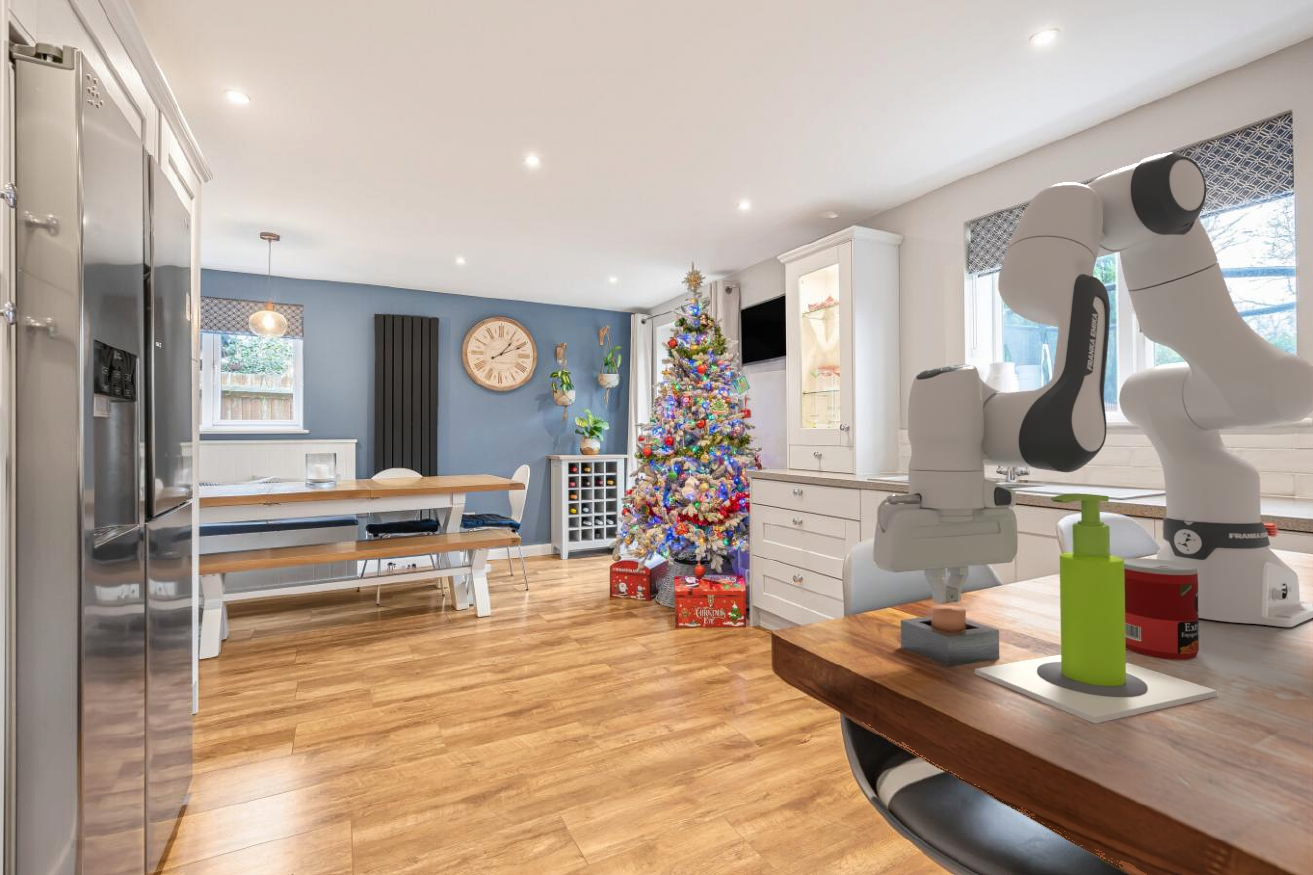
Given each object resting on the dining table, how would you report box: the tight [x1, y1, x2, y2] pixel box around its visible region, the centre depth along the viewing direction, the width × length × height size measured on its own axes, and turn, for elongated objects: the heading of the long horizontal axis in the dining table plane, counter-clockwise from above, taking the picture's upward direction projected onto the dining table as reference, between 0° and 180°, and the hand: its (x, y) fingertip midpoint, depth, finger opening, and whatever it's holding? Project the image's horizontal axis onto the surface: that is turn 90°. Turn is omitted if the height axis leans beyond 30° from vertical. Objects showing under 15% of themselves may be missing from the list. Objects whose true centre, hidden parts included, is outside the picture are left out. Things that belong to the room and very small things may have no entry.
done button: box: [930, 604, 967, 632], centre depth 82 cm, size 4×4×3 cm
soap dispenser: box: [1050, 492, 1127, 686], centre depth 71 cm, size 6×7×20 cm
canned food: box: [1123, 557, 1200, 661], centre depth 82 cm, size 8×8×11 cm
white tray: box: [974, 654, 1218, 725], centre depth 70 cm, size 18×14×1 cm
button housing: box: [900, 615, 1000, 668], centre depth 82 cm, size 8×8×4 cm
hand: (946, 602), depth 82 cm, fingers closed
